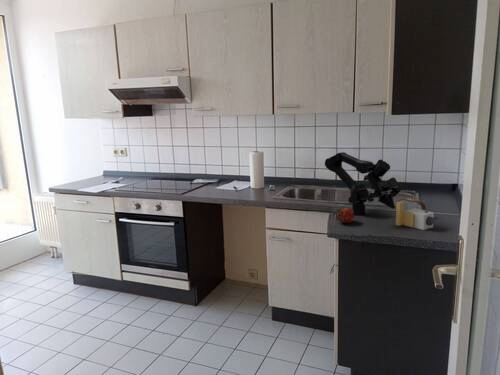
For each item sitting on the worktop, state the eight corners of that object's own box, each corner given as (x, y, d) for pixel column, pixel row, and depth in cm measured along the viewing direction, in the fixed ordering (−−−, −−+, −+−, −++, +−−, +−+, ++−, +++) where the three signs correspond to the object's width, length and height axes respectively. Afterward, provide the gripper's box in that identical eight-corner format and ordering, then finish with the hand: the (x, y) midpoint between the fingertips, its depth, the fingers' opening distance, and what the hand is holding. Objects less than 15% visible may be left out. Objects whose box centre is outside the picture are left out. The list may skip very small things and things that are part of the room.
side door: (395, 224, 184) (396, 202, 182) (400, 223, 186) (401, 201, 184) (408, 228, 178) (409, 205, 176) (413, 227, 180) (414, 204, 177)
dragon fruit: (337, 228, 188) (349, 226, 197) (350, 220, 183) (362, 218, 192) (329, 213, 191) (341, 211, 200) (342, 204, 186) (354, 203, 194)
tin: (425, 217, 196) (426, 200, 194) (422, 218, 194) (423, 201, 192) (399, 211, 208) (400, 196, 206) (396, 212, 206) (396, 197, 204)
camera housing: (404, 224, 184) (405, 209, 183) (414, 222, 188) (415, 207, 186) (425, 230, 175) (426, 214, 173) (435, 227, 178) (436, 211, 177)
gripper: (372, 174, 182) (390, 201, 175) (398, 170, 191) (417, 195, 184) (359, 188, 190) (376, 214, 183) (385, 183, 200) (402, 208, 192)
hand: (393, 208), depth 185 cm, fingers closed
